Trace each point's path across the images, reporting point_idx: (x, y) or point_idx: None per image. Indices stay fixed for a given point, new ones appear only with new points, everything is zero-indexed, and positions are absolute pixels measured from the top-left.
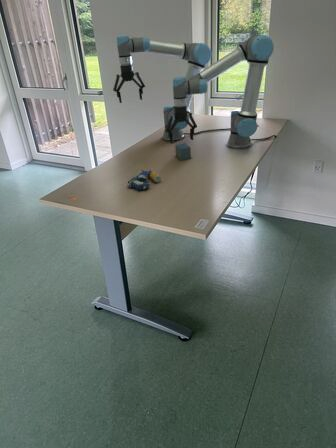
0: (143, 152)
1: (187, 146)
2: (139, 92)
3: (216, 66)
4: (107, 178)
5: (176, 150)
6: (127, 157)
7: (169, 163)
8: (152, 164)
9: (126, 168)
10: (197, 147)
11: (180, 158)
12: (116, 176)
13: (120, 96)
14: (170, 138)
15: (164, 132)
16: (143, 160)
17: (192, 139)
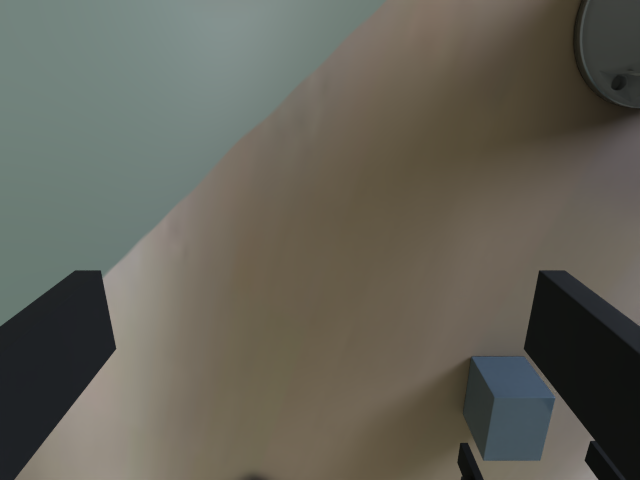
0: (342, 213)
1: (532, 449)
2: (635, 391)
3: None
4: (107, 437)
5: (481, 390)
6: (234, 243)
7: (399, 420)
8: (327, 395)
9: (202, 381)
10: (636, 302)
11: (465, 412)
12: (147, 436)
13: (30, 447)
14: (468, 474)
15: (622, 9)
16: (303, 330)
17: (589, 463)
